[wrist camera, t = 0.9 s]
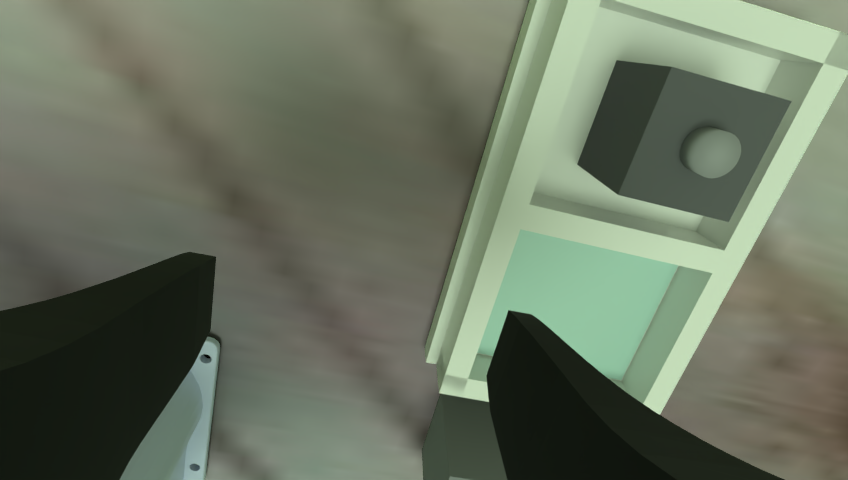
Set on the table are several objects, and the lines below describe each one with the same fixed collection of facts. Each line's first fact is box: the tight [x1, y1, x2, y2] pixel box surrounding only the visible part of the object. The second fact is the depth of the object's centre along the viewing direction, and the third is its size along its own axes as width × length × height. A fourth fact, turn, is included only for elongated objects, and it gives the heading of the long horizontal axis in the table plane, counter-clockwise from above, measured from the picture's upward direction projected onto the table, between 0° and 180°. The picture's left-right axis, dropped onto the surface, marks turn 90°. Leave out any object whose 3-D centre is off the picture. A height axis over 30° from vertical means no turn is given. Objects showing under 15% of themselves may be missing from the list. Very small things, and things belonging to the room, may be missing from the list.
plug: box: [577, 60, 792, 222], centre depth 17 cm, size 4×4×5 cm
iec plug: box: [422, 394, 507, 480], centre depth 23 cm, size 4×4×7 cm
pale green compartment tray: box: [425, 0, 848, 415], centre depth 20 cm, size 17×11×3 cm, turn 166°
